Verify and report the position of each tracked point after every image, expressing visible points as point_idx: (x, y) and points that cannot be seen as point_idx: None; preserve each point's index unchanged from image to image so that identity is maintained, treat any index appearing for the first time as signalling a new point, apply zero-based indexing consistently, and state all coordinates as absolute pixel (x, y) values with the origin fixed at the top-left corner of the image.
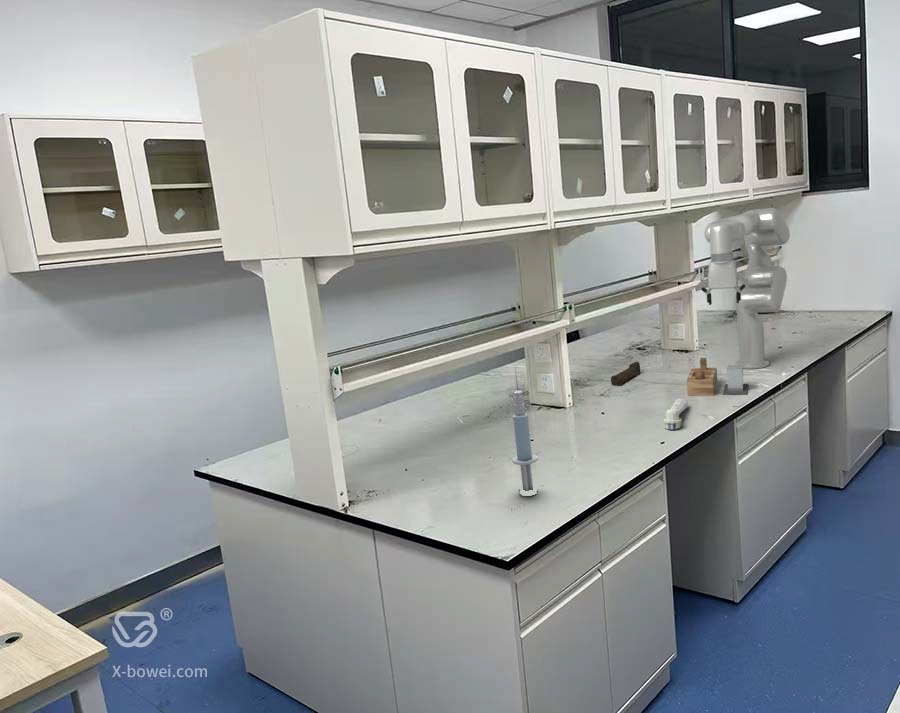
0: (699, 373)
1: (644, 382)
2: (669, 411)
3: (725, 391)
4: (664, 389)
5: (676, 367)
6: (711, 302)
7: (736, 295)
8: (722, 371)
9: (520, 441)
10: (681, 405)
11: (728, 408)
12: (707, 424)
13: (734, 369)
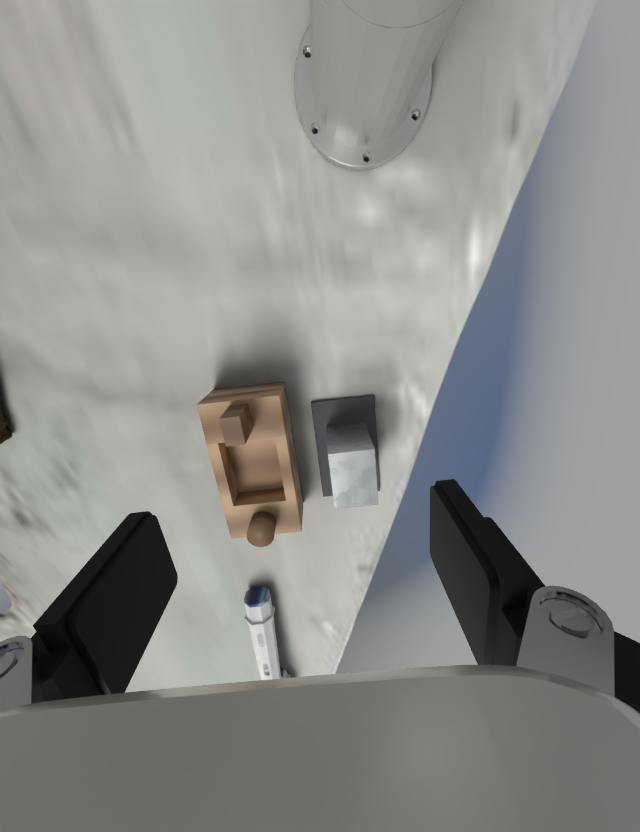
0: (263, 545)
1: (62, 389)
2: None
3: (326, 477)
4: (159, 459)
5: (58, 139)
6: (153, 536)
7: (469, 636)
8: (264, 215)
9: None
10: (273, 654)
11: (352, 581)
12: (330, 658)
13: (356, 506)
